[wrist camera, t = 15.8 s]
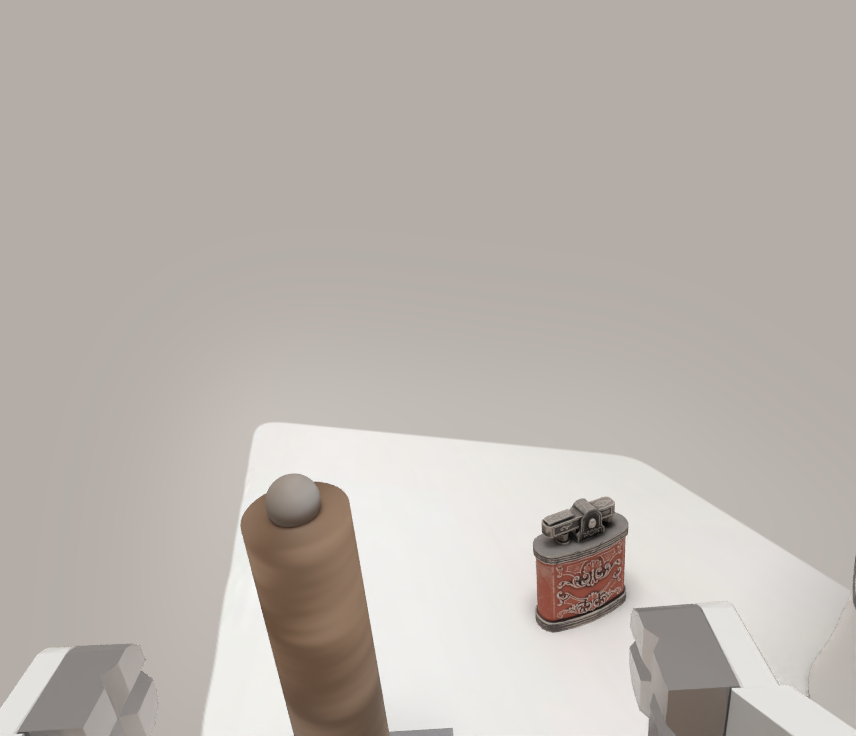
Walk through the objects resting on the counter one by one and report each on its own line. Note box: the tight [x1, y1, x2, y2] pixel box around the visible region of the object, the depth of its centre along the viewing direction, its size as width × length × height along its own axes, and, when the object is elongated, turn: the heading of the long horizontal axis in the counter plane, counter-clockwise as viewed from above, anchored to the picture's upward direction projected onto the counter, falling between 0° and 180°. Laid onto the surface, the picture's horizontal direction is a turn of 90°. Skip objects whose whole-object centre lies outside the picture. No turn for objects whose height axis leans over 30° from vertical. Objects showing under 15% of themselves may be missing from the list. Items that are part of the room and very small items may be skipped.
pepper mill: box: [241, 474, 390, 736], centre depth 33 cm, size 6×6×25 cm
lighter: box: [533, 497, 628, 632], centre depth 52 cm, size 8×3×10 cm, turn 113°
